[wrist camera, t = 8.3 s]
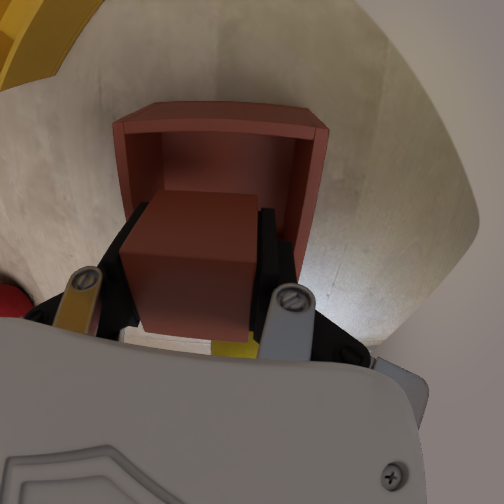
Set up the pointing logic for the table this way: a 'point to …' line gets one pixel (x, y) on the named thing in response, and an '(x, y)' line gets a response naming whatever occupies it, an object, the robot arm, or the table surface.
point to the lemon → (235, 348)
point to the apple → (13, 302)
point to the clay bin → (226, 157)
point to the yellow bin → (38, 36)
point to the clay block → (194, 264)
